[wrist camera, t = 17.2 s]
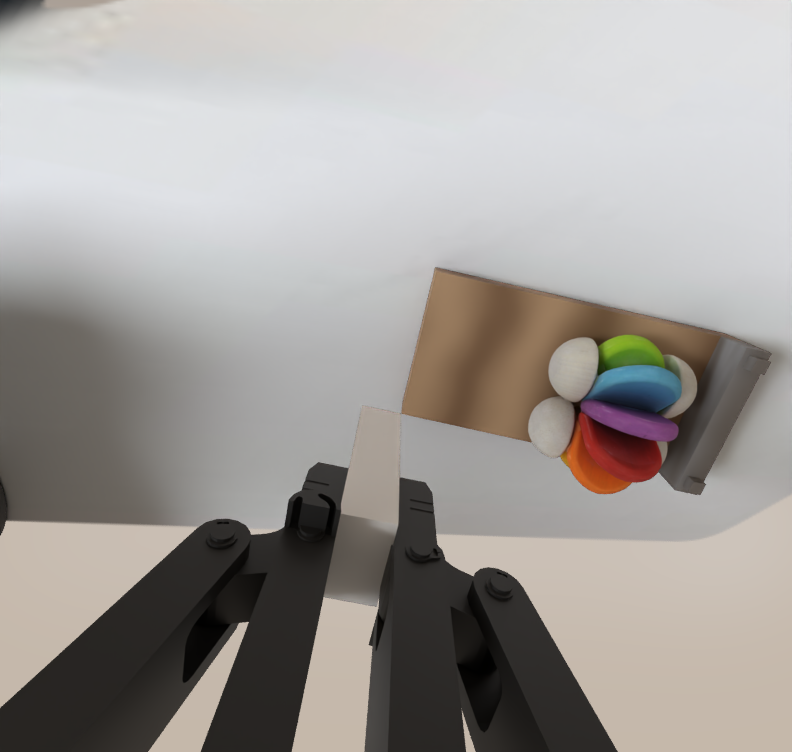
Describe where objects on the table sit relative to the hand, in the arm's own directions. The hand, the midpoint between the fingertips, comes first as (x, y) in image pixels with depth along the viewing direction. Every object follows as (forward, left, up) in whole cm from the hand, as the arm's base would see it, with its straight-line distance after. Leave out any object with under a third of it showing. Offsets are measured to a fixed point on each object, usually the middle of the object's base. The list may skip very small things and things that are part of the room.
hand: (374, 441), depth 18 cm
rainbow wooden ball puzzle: (+14, 0, -14) cm, 20 cm away
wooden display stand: (+12, 0, -16) cm, 19 cm away
